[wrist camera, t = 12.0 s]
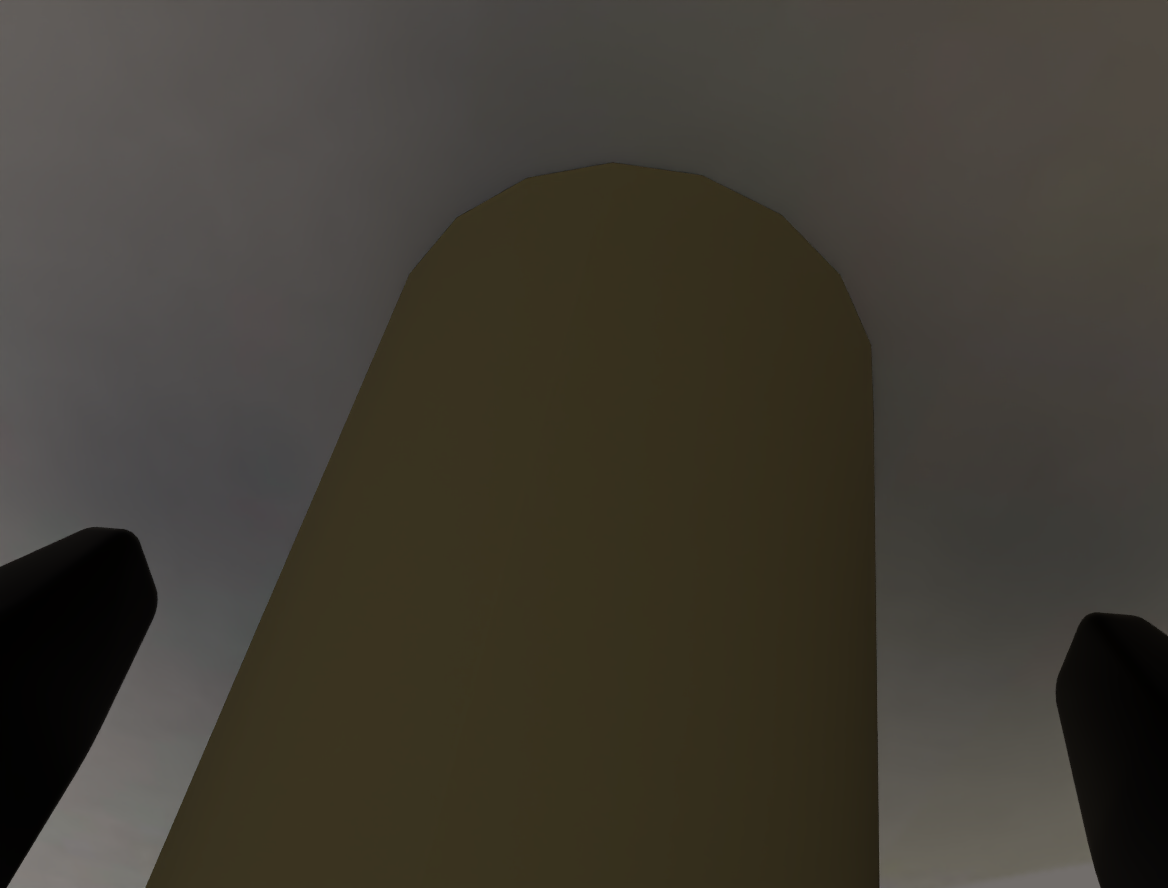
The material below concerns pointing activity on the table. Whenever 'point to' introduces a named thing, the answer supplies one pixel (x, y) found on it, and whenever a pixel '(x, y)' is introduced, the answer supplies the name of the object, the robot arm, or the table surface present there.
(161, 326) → the table surface
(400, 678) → the brown rounded piece
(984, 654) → the table surface
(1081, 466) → the table surface
